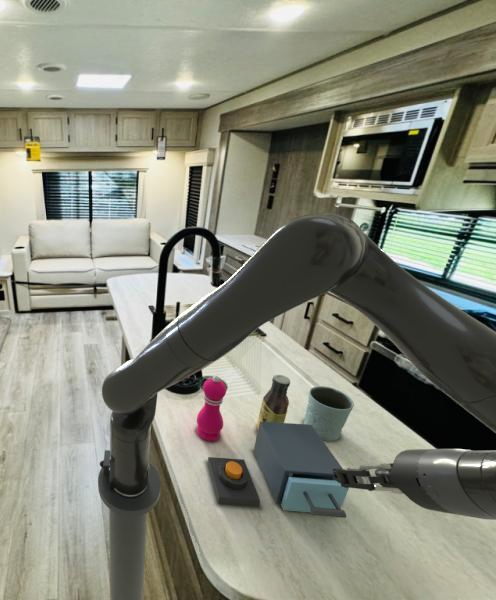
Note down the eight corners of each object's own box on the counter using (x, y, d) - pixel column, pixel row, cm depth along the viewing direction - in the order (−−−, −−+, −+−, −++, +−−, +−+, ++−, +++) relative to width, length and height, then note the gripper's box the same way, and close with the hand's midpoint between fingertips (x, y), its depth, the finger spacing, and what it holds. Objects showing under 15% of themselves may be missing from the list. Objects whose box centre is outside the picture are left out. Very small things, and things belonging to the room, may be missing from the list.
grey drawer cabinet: (334, 508, 70) (347, 475, 66) (275, 503, 71) (285, 470, 67) (302, 455, 83) (311, 424, 80) (253, 451, 85) (259, 421, 81)
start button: (227, 479, 74) (228, 473, 73) (223, 465, 77) (224, 460, 76) (243, 480, 73) (244, 474, 72) (238, 467, 76) (239, 461, 76)
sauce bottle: (254, 424, 94) (266, 368, 87) (277, 428, 92) (291, 372, 85) (257, 440, 88) (270, 382, 81) (281, 445, 86) (297, 387, 79)
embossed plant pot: (342, 427, 92) (353, 394, 88) (342, 449, 85) (354, 415, 80) (302, 413, 98) (311, 381, 94) (298, 433, 90) (308, 400, 86)
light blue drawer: (352, 538, 64) (365, 508, 60) (293, 532, 65) (302, 503, 62) (306, 462, 80) (314, 436, 77) (260, 459, 82) (266, 433, 78)
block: (217, 503, 72) (219, 491, 70) (207, 463, 82) (208, 451, 80) (258, 507, 71) (261, 495, 69) (242, 465, 81) (245, 454, 79)
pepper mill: (196, 441, 89) (204, 383, 81) (194, 422, 95) (200, 367, 88) (223, 444, 87) (233, 385, 80) (218, 425, 94) (227, 369, 87)
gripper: (490, 446, 42) (391, 448, 56) (383, 451, 42) (312, 452, 56) (527, 513, 38) (412, 497, 53) (411, 518, 38) (328, 501, 53)
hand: (360, 474), depth 55 cm, fingers open, 8 cm apart
